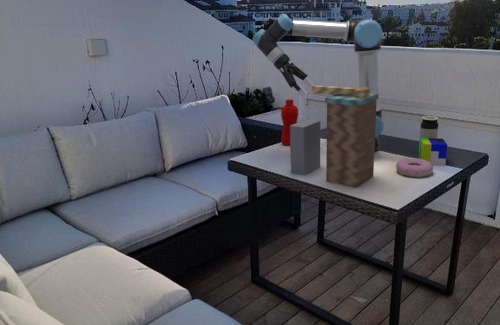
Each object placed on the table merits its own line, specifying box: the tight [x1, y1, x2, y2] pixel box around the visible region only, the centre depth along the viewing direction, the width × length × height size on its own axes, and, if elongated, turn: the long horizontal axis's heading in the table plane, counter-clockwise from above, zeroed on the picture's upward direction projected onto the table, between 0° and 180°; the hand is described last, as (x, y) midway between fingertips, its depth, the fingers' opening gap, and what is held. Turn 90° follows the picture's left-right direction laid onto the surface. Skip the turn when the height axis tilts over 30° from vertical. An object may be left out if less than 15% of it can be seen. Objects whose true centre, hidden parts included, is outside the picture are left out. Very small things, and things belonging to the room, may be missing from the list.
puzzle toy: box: [418, 137, 448, 166], centre depth 204 cm, size 10×10×10 cm
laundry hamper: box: [324, 93, 380, 189], centre depth 184 cm, size 15×17×37 cm
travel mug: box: [418, 115, 439, 148], centre depth 215 cm, size 8×8×18 cm
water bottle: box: [280, 98, 299, 147], centre depth 242 cm, size 9×11×25 cm
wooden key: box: [311, 84, 370, 98], centre depth 182 cm, size 24×7×3 cm, turn 50°
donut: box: [395, 157, 434, 178], centre depth 193 cm, size 16×15×5 cm
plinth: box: [290, 118, 321, 176], centre depth 200 cm, size 7×14×22 cm, turn 140°
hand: (309, 92), depth 205 cm, fingers open, 13 cm apart
